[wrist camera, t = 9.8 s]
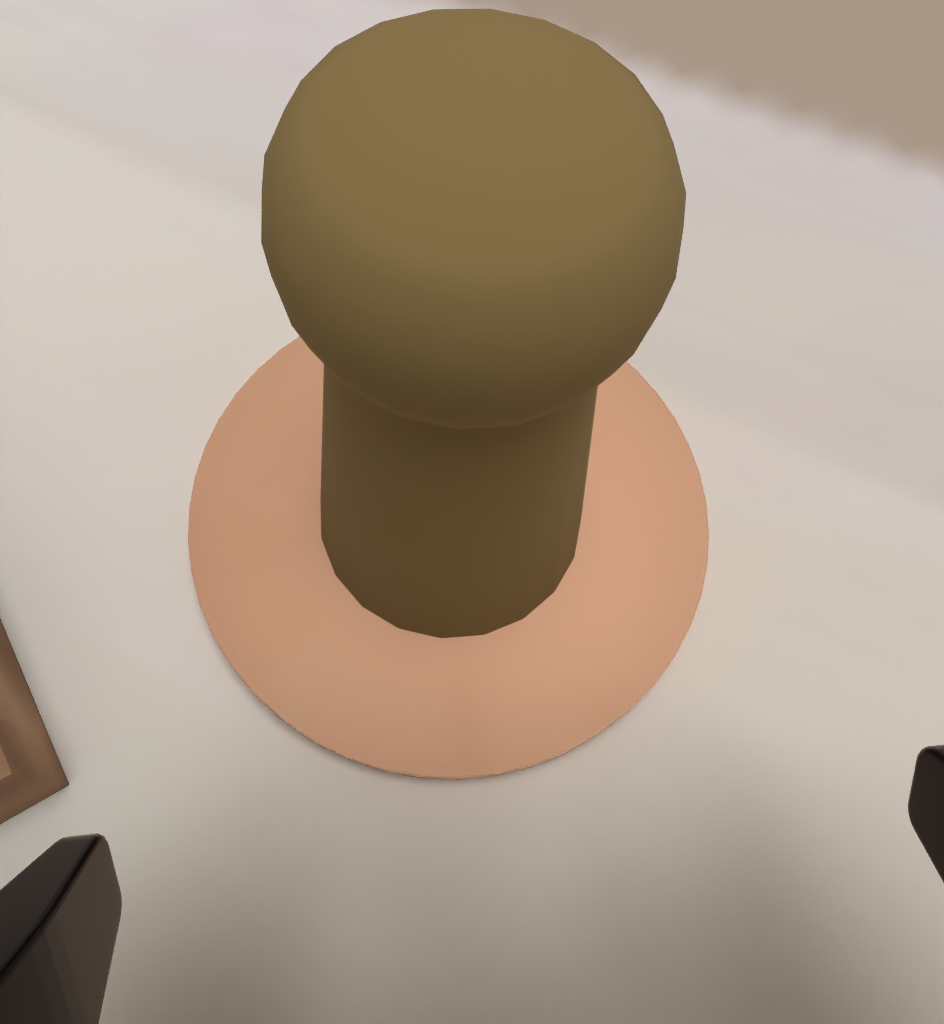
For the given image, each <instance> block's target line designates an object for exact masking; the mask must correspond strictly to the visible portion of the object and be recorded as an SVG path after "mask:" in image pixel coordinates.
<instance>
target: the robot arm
mask: <svg viewBox="0 0 944 1024" xmlns="http://www.w3.org/2000/svg"><path fill="white" fill-rule="evenodd" d="M908 811H909V817H910V820H911V823H912V826H913V828H914V830H915V832H916V833H917V835H918V837H919V839H920V841H921V842H922V844H923V846H924V848H925V850H926V852H927V853H928V855H929V857H930V859H931V861H932V862H933V864H934V866H935V868H936V870H937V871H938V873H939V875H940V877H941V879H942V880H943V882H944V745H936V746H928V747H925V748H923V749H922V750H921V751H920V753H919V754H918V757H917V760H916V766H915V771H914V776H913V781H912V786H911V791H910V796H909V802H908ZM121 907H122V900H121V892H120V887H119V883H118V880H117V876H116V872H115V868H114V864H113V860H112V856H111V852H110V848H109V845H108V842H107V840H106V839H105V837H104V836H102V835H100V834H89V835H80V836H70V837H65V838H62V839H60V840H59V841H57V842H56V843H54V844H53V845H52V846H51V847H50V848H49V849H47V850H46V851H45V852H44V853H43V854H42V855H41V856H39V857H38V858H37V859H36V860H35V861H34V862H32V863H31V864H30V865H29V866H28V867H27V868H25V869H24V870H23V871H22V872H21V873H20V874H18V875H17V876H16V877H15V878H14V879H13V880H12V881H10V882H9V883H8V884H7V885H6V886H5V887H3V888H2V889H1V890H0V1024H98V1023H99V1018H100V1013H101V1008H102V1003H103V999H104V994H105V989H106V984H107V979H108V975H109V970H110V965H111V960H112V955H113V951H114V946H115V941H116V936H117V931H118V927H119V922H120V916H121Z"/></svg>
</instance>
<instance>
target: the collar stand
mask: <svg viewBox="0 0 944 1024" xmlns="http://www.w3.org/2000/svg"><path fill="white" fill-rule="evenodd" d="M68 785H69V784H68V782H67V779H66V777H65V774H64V772H63V770H62V767H61V765H60V762H59V760H58V757H57V755H56V753H55V750H54V748H53V745H52V743H51V741H50V738H49V736H48V733H47V731H46V729H45V726H44V724H43V721H42V719H41V717H40V714H39V712H38V709H37V707H36V704H35V702H34V700H33V697H32V695H31V692H30V690H29V688H28V685H27V683H26V680H25V678H24V676H23V673H22V671H21V668H20V666H19V664H18V661H17V659H16V656H15V654H14V652H13V649H12V647H11V644H10V642H9V639H8V637H7V635H6V632H5V630H4V627H3V625H2V623H1V620H0V824H1V823H2V822H4V821H6V820H8V819H9V818H11V817H13V816H15V815H17V814H18V813H20V812H22V811H24V810H25V809H27V808H29V807H31V806H32V805H34V804H36V803H38V802H39V801H41V800H43V799H45V798H46V797H48V796H50V795H52V794H54V793H55V792H57V791H59V790H61V789H62V788H64V787H66V786H68Z"/></svg>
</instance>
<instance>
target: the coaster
mask: <svg viewBox="0 0 944 1024" xmlns="http://www.w3.org/2000/svg"><path fill="white" fill-rule="evenodd" d="M323 376H324V364H323V363H322V361H321V360H320V359H319V358H318V357H317V356H316V355H315V354H314V353H313V352H312V351H311V350H310V349H309V347H308V346H307V345H306V343H305V342H304V341H303V339H302V338H301V337H298V338H297V339H295V340H294V341H292V342H291V343H290V344H288V345H287V346H285V347H284V348H282V349H281V350H279V351H278V352H277V353H276V354H275V355H274V356H273V357H271V358H270V359H269V360H268V361H267V362H266V363H265V364H263V365H262V366H261V367H260V368H259V369H258V370H257V371H256V372H255V373H254V374H253V375H252V376H251V377H250V379H249V380H248V381H247V382H246V383H245V384H244V385H243V387H242V388H241V389H240V390H239V391H238V392H237V393H236V395H235V396H234V398H233V399H232V401H231V402H230V404H229V405H228V407H227V408H226V410H225V411H224V413H223V414H222V415H221V417H220V418H219V420H218V422H217V424H216V426H215V428H214V430H213V432H212V434H211V436H210V438H209V440H208V442H207V444H206V446H205V449H204V452H203V455H202V458H201V461H200V464H199V467H198V470H197V473H196V476H195V481H194V486H193V491H192V497H191V502H190V508H189V532H188V542H189V552H190V561H191V571H192V575H193V579H194V583H195V587H196V591H197V595H198V599H199V603H200V606H201V608H202V610H203V613H204V615H205V618H206V620H207V622H208V625H209V627H210V630H211V632H212V634H213V636H214V638H215V640H216V641H217V643H218V645H219V646H220V648H221V650H222V651H223V653H224V655H225V656H226V658H227V659H228V661H229V663H230V664H231V666H232V667H233V668H234V670H235V671H236V672H237V673H238V674H239V676H240V677H241V678H242V679H243V681H244V682H245V683H246V684H247V685H248V687H249V688H250V689H251V690H252V691H253V693H254V694H255V695H256V696H258V697H259V698H260V699H261V700H262V701H263V702H264V703H265V704H266V705H267V706H268V707H270V708H271V709H272V710H273V711H274V712H275V713H276V714H277V715H278V716H279V717H281V718H282V719H283V720H284V721H285V722H286V723H287V724H289V725H290V726H292V727H293V728H295V729H296V730H297V731H299V732H300V733H302V734H303V735H305V736H306V737H308V738H309V739H311V740H312V741H314V742H315V743H317V744H319V745H321V746H323V747H325V748H327V749H329V750H331V751H333V752H335V753H337V754H339V755H341V756H343V757H345V758H347V759H349V760H352V761H355V762H358V763H361V764H364V765H368V766H371V767H374V768H377V769H380V770H383V771H387V772H393V773H398V774H404V775H409V776H415V777H421V778H444V779H463V778H474V777H484V776H494V775H499V774H503V773H507V772H511V771H515V770H519V769H524V768H528V767H531V766H534V765H536V764H539V763H541V762H544V761H546V760H549V759H552V758H554V757H557V756H559V755H562V754H564V753H566V752H568V751H569V750H571V749H573V748H575V747H576V746H578V745H580V744H582V743H584V742H585V741H587V740H589V739H591V738H592V737H594V736H596V735H597V734H598V733H600V732H601V731H602V730H604V729H605V728H606V727H608V726H609V725H610V724H612V723H613V722H614V721H616V720H617V719H618V718H619V717H621V716H622V715H623V714H625V713H626V712H627V711H629V710H630V709H631V708H632V707H633V706H634V705H635V704H636V703H637V702H638V701H639V700H640V699H641V698H642V697H643V696H644V695H645V693H646V692H647V691H648V690H649V689H650V688H651V687H652V686H653V685H654V684H655V683H656V681H657V680H658V679H659V677H660V676H661V675H662V673H663V672H664V671H665V669H666V668H667V666H668V665H669V664H670V662H671V661H672V660H673V658H674V657H675V655H676V653H677V651H678V649H679V647H680V645H681V644H682V642H683V640H684V638H685V636H686V634H687V632H688V630H689V628H690V626H691V623H692V620H693V618H694V615H695V612H696V609H697V606H698V603H699V601H700V598H701V594H702V589H703V584H704V579H705V574H706V569H707V560H708V541H709V529H708V518H707V506H706V500H705V495H704V491H703V487H702V482H701V478H700V473H699V471H698V468H697V465H696V463H695V460H694V457H693V455H692V452H691V449H690V447H689V444H688V442H687V440H686V438H685V436H684V435H683V433H682V431H681V429H680V427H679V425H678V423H677V421H676V420H675V418H674V416H673V415H672V413H671V412H670V411H669V409H668V408H667V406H666V405H665V403H664V402H663V401H662V399H661V398H660V396H659V395H658V394H657V392H656V391H655V390H654V389H653V388H652V387H651V386H650V385H649V384H648V382H647V381H646V380H645V379H644V378H643V377H642V376H641V375H640V374H639V372H638V371H637V370H635V369H634V368H633V367H632V366H631V365H630V364H629V363H627V362H625V363H624V364H623V365H622V366H621V367H620V368H619V369H618V370H617V371H616V372H615V373H614V374H613V375H611V376H610V377H609V378H607V379H606V380H605V381H604V382H602V383H601V384H600V385H598V390H597V397H596V405H595V413H594V421H593V429H592V437H591V445H590V453H589V461H588V469H587V477H586V484H585V492H584V500H583V508H582V516H581V523H580V528H579V534H578V539H577V545H576V550H575V556H574V559H573V561H572V562H571V564H570V566H569V568H568V569H567V571H566V573H565V575H564V576H563V578H562V580H561V582H560V583H559V585H558V587H557V588H556V590H555V592H554V593H553V594H552V595H550V596H549V597H548V598H547V599H546V600H545V601H543V602H542V603H541V604H540V605H539V606H538V607H537V608H535V609H534V610H533V611H532V612H531V613H530V614H528V615H527V616H526V617H525V618H524V619H522V620H519V621H517V622H514V623H512V624H510V625H507V626H505V627H502V628H500V629H497V630H495V631H493V632H490V633H488V634H485V635H477V636H465V637H452V638H437V637H433V636H429V635H424V634H420V633H416V632H412V631H407V630H403V629H399V628H397V627H395V626H394V625H392V624H390V623H389V622H387V621H385V620H384V619H382V618H380V617H379V616H377V615H375V614H374V613H372V612H370V611H369V610H367V609H365V608H364V607H362V606H361V605H360V603H359V602H358V601H357V600H356V599H355V598H354V596H353V595H352V594H351V593H350V592H349V590H348V589H347V588H346V587H345V586H344V585H343V583H342V582H341V581H340V580H339V579H338V578H337V576H336V575H335V573H334V570H333V567H332V565H331V562H330V560H329V557H328V554H327V552H326V549H325V547H324V544H323V541H322V539H321V504H320V496H321V456H322V416H323Z"/></svg>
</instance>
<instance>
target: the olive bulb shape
mask: <svg viewBox="0 0 944 1024" xmlns="http://www.w3.org/2000/svg"><path fill="white" fill-rule="evenodd" d="M685 200H686V191H685V187H684V183H683V179H682V175H681V171H680V167H679V163H678V159H677V155H676V151H675V147H674V144H673V141H672V138H671V136H670V133H669V130H668V128H667V125H666V122H665V119H664V117H663V114H662V113H661V111H660V110H659V108H658V107H657V106H656V104H655V103H654V101H653V100H652V98H651V97H650V95H649V94H648V93H647V91H646V90H645V88H644V87H643V85H642V84H641V82H640V81H639V80H638V78H637V77H636V75H635V74H634V73H633V72H631V71H630V70H629V69H627V68H626V67H625V66H624V65H622V64H621V63H620V62H619V61H617V60H616V59H615V58H614V57H612V56H611V55H610V54H609V53H607V52H606V51H605V50H603V49H602V48H601V47H600V46H598V45H597V44H596V43H595V42H593V41H590V40H588V39H586V38H584V37H581V36H579V35H577V34H574V33H572V32H570V31H568V30H566V29H564V28H561V27H559V26H557V25H555V24H552V23H550V22H548V21H546V20H542V19H537V18H532V17H527V16H522V15H517V14H513V13H508V12H503V11H498V10H493V9H440V10H430V11H426V12H422V13H417V14H413V15H409V16H405V17H401V18H397V19H392V20H388V21H384V22H380V23H378V24H377V25H375V26H373V27H371V28H369V29H367V30H365V31H363V32H361V33H360V34H358V35H356V36H354V37H352V38H350V39H348V40H346V41H344V42H343V43H341V44H339V45H337V46H335V47H334V48H333V49H332V50H331V51H330V52H329V53H328V54H327V55H326V56H325V57H324V58H323V59H322V60H321V61H320V62H319V63H318V64H317V65H316V66H315V67H314V68H313V69H312V70H311V71H310V72H309V73H308V74H307V75H306V76H305V77H304V78H303V79H302V80H301V81H300V83H299V85H298V87H297V88H296V90H295V92H294V94H293V95H292V97H291V99H290V101H289V103H288V104H287V106H286V108H285V110H284V112H283V114H282V117H281V119H280V121H279V123H278V126H277V128H276V130H275V132H274V135H273V137H272V139H271V142H270V144H269V146H268V148H267V151H266V153H265V155H264V169H263V182H262V238H261V242H262V246H263V249H264V253H265V256H266V260H267V263H268V266H269V270H270V273H271V276H272V279H273V281H274V283H275V286H276V288H277V291H278V293H279V296H280V298H281V300H282V303H283V305H284V308H285V310H286V312H287V315H288V317H289V320H290V322H291V325H292V326H293V328H294V329H295V330H296V331H297V333H298V334H299V335H300V337H301V338H302V339H303V341H304V342H305V343H306V345H307V346H308V347H309V349H310V350H311V351H312V352H313V353H314V354H315V355H316V356H317V357H318V358H319V359H320V360H321V361H322V363H323V364H324V376H323V416H322V456H321V496H320V504H321V539H322V541H323V544H324V547H325V549H326V552H327V554H328V557H329V560H330V562H331V565H332V567H333V570H334V573H335V575H336V576H337V578H338V579H339V580H340V581H341V582H342V583H343V585H344V586H345V587H346V588H347V589H348V590H349V592H350V593H351V594H352V595H353V596H354V598H355V599H356V600H357V601H358V602H359V603H360V605H361V606H362V607H364V608H365V609H367V610H369V611H370V612H372V613H374V614H375V615H377V616H379V617H380V618H382V619H384V620H385V621H387V622H389V623H390V624H392V625H394V626H395V627H397V628H399V629H403V630H407V631H412V632H416V633H420V634H424V635H429V636H433V637H437V638H452V637H465V636H477V635H485V634H488V633H490V632H493V631H495V630H497V629H500V628H502V627H505V626H507V625H510V624H512V623H514V622H517V621H519V620H522V619H524V618H525V617H526V616H527V615H528V614H530V613H531V612H532V611H533V610H534V609H535V608H537V607H538V606H539V605H540V604H541V603H542V602H543V601H545V600H546V599H547V598H548V597H549V596H550V595H552V594H553V593H554V592H555V590H556V588H557V587H558V585H559V583H560V582H561V580H562V578H563V576H564V575H565V573H566V571H567V569H568V568H569V566H570V564H571V562H572V561H573V559H574V556H575V550H576V545H577V539H578V534H579V528H580V523H581V516H582V508H583V500H584V492H585V484H586V477H587V469H588V461H589V453H590V445H591V437H592V429H593V421H594V413H595V405H596V397H597V390H598V385H600V384H601V383H602V382H604V381H605V380H606V379H607V378H609V377H610V376H611V375H613V374H614V373H615V372H616V371H617V370H618V369H619V368H620V367H621V366H622V365H623V364H624V363H625V362H626V361H627V360H628V359H629V358H630V357H631V356H632V355H633V354H634V353H635V351H636V349H637V348H638V346H639V345H640V343H641V341H642V340H643V338H644V336H645V335H646V333H647V331H648V330H649V328H650V327H651V325H652V323H653V322H654V320H655V318H656V317H657V315H658V314H659V312H660V310H661V309H662V307H663V304H664V302H665V300H666V298H667V296H668V294H669V291H670V289H671V287H672V285H673V283H674V281H675V278H676V272H677V266H678V259H679V253H680V246H681V240H682V233H683V226H684V213H685Z"/></svg>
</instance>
